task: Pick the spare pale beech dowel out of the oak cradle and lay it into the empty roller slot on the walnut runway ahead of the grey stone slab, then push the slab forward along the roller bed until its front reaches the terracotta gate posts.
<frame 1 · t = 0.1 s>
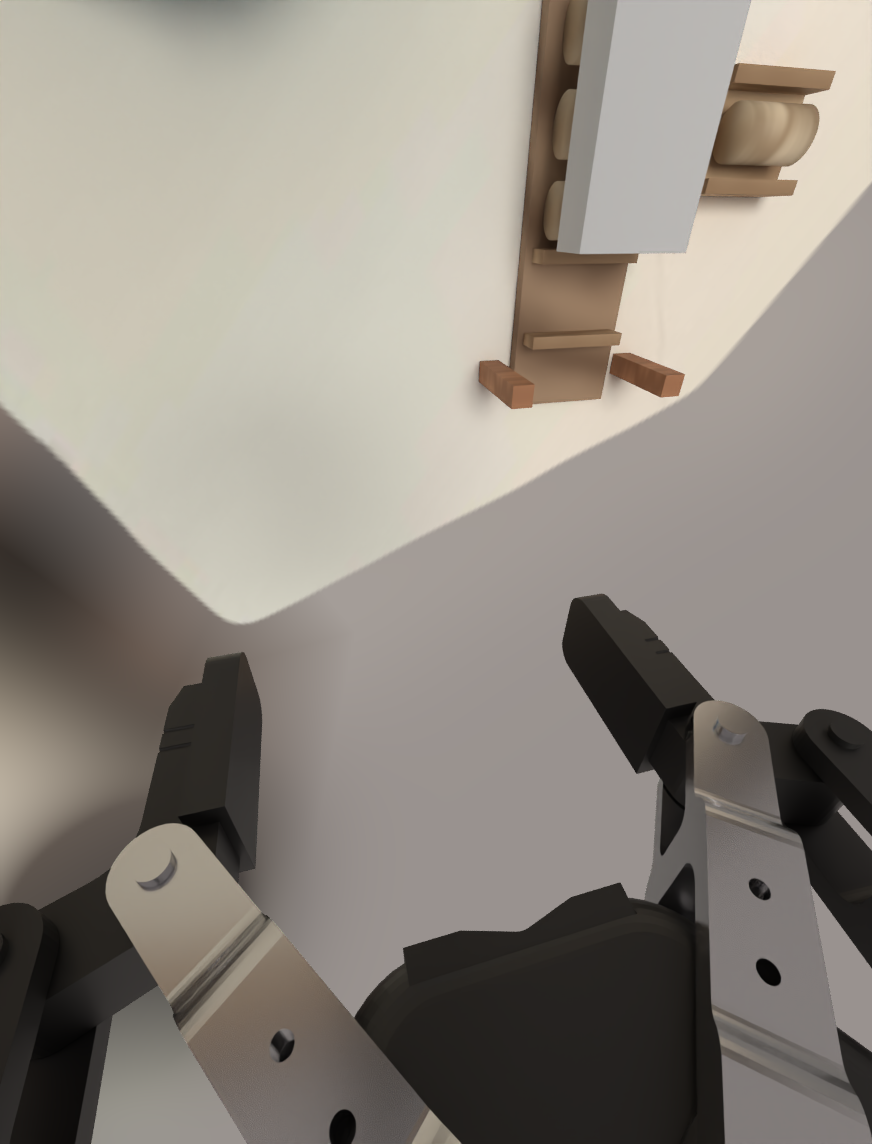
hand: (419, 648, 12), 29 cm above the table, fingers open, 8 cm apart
slab: (645, 117, 26), point 6 cm above the table, slide at 0.0 cm
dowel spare: (746, 138, 32), point 1 cm above the table, touching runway
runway: (575, 230, 34), on the table
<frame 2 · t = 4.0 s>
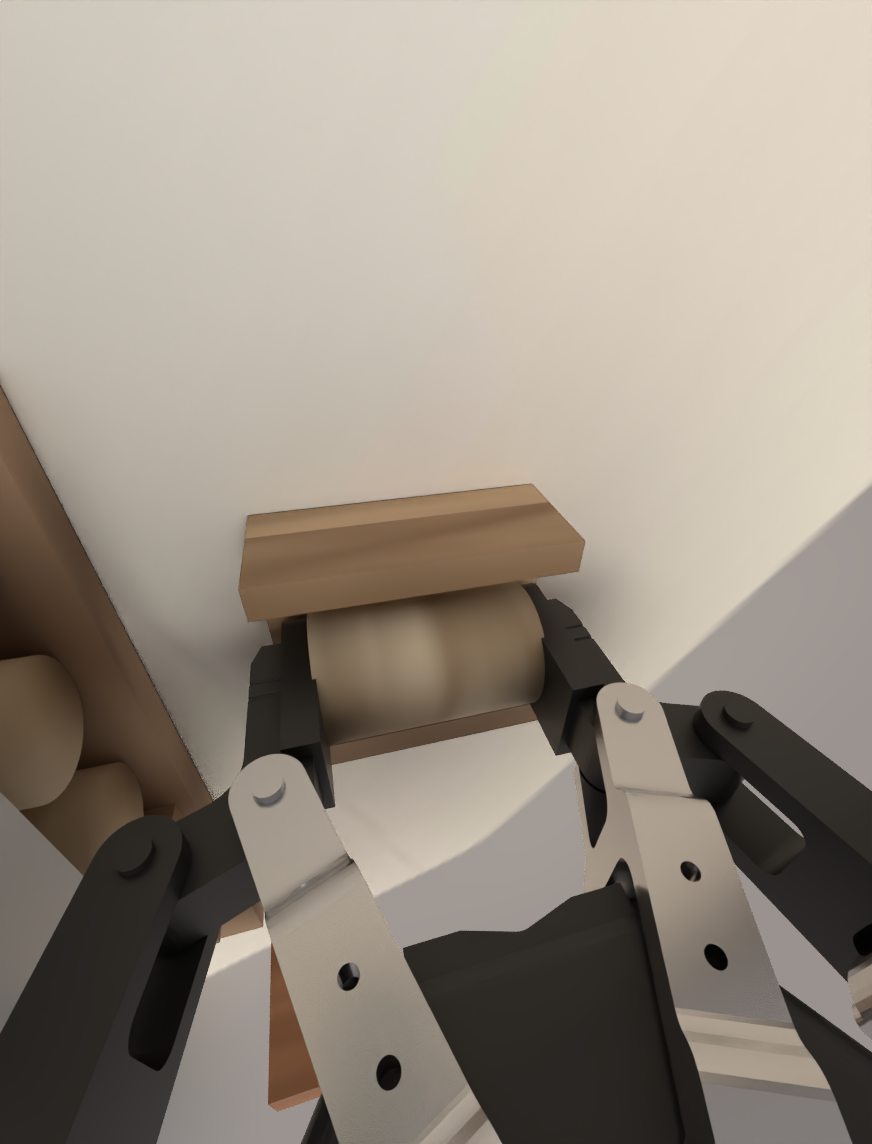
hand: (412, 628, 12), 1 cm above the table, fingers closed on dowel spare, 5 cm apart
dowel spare: (410, 618, 13), point 1 cm above the table, touching gripper, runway
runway: (42, 782, 14), on the table
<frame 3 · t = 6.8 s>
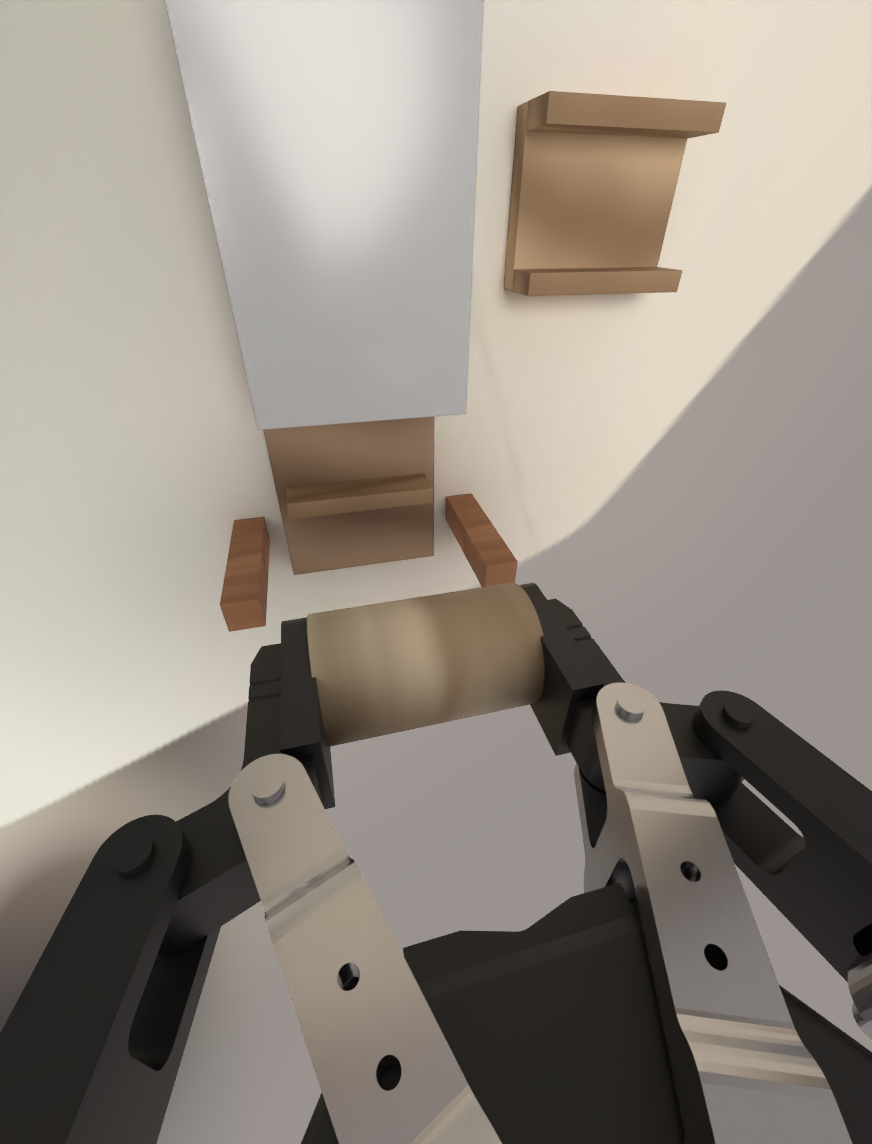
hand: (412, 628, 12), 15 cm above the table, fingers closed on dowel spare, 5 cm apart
slab: (343, 197, 14), point 6 cm above the table, slide at 0.0 cm
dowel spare: (410, 619, 13), point 14 cm above the table, touching gripper
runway: (342, 343, 22), on the table
when the fingers open (2 cm above the table, at t = 9.4 s): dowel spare stays where it is, resting on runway.
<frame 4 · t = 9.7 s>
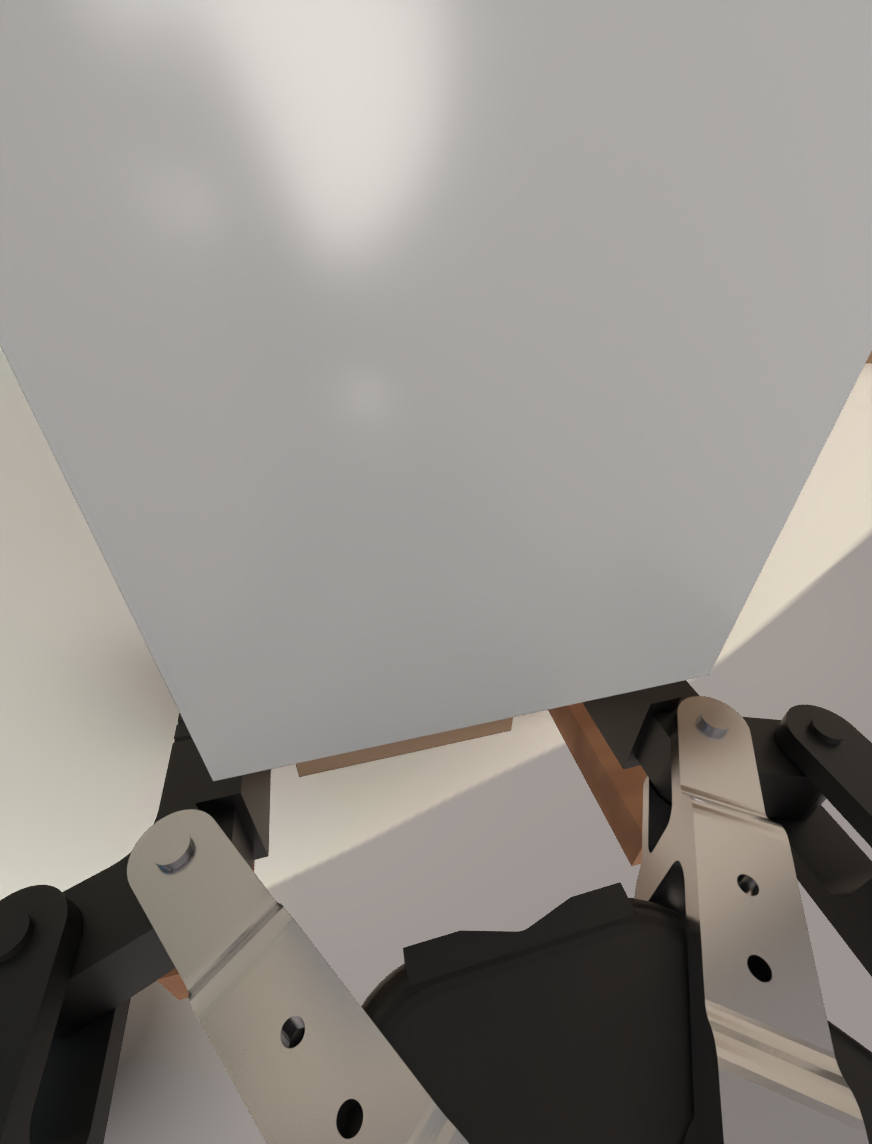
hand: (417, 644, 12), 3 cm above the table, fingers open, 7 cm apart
slab: (478, 146, 4), point 6 cm above the table, slide at 0.0 cm
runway: (389, 444, 12), on the table
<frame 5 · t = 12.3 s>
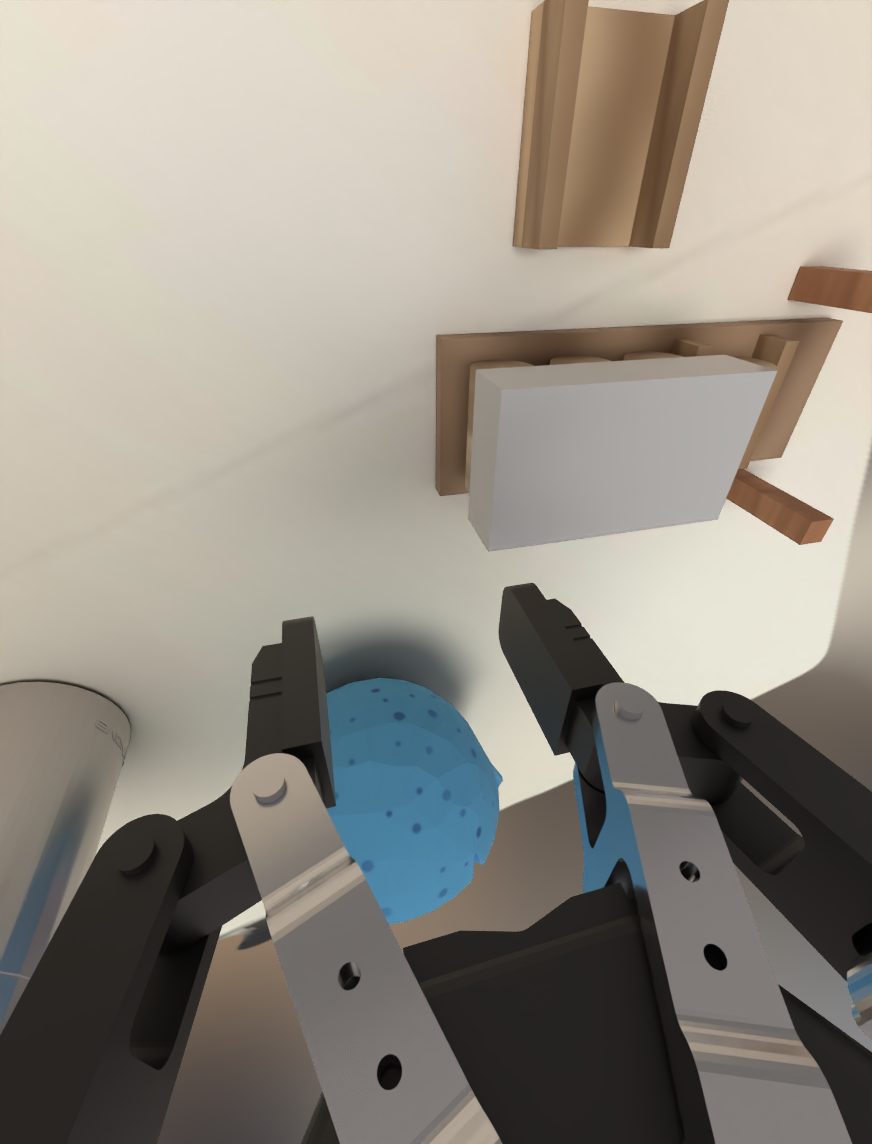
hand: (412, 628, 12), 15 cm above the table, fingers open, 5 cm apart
slab: (608, 451, 22), point 6 cm above the table, slide at 0.0 cm
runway: (630, 403, 28), on the table
educational model: (366, 713, 38), on the table
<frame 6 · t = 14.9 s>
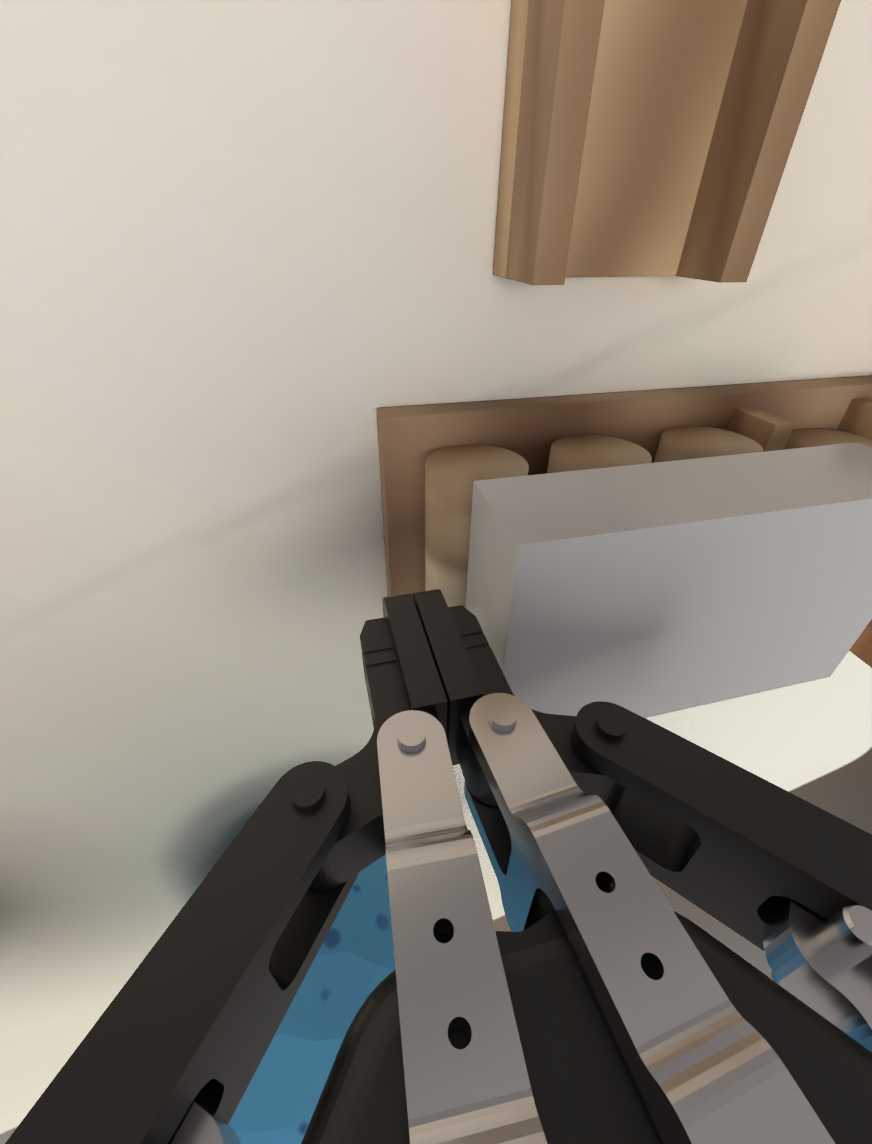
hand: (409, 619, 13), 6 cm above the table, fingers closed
slab: (678, 593, 14), point 6 cm above the table, slide at 1.2 cm, touching gripper
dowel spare: (766, 490, 20), point 1 cm above the table, tilted 19°, touching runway
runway: (663, 488, 20), on the table
educational model: (314, 852, 30), on the table
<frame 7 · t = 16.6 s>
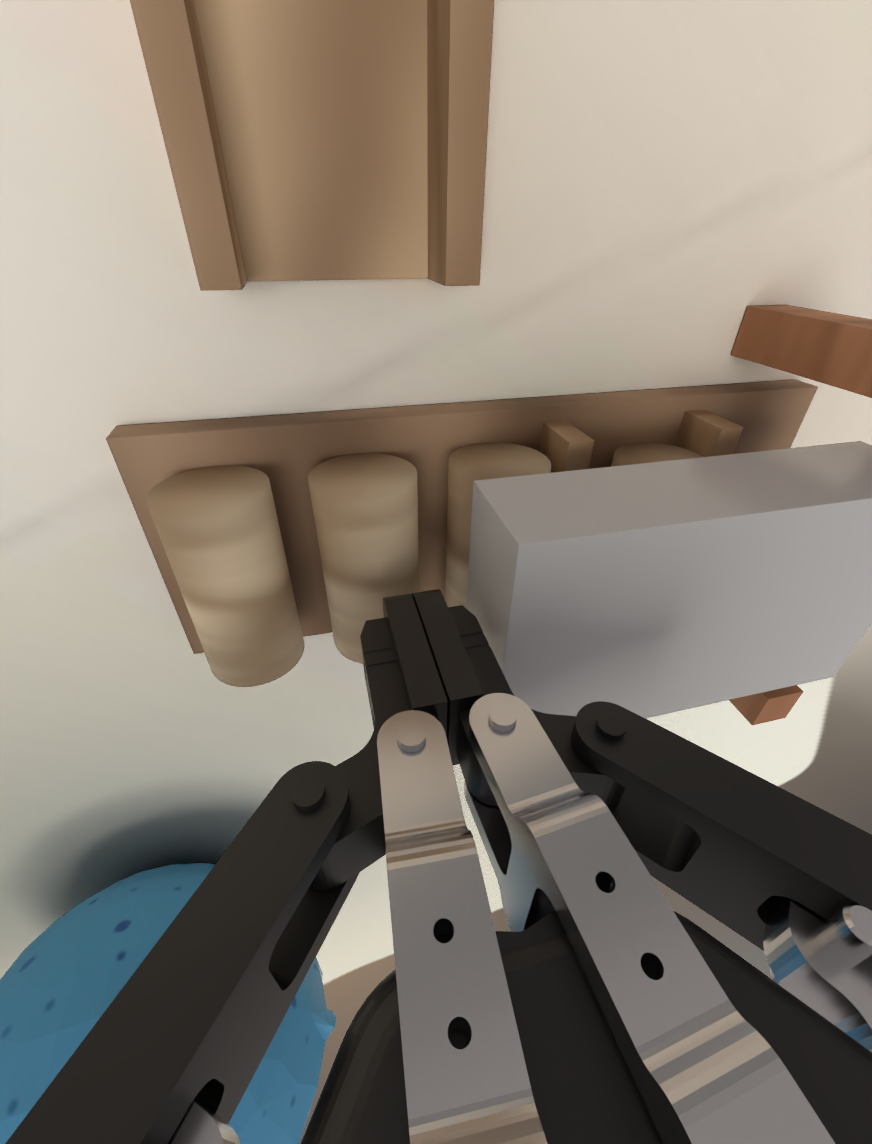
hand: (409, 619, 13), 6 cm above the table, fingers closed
slab: (680, 593, 14), point 6 cm above the table, slide at 8.5 cm, touching gripper
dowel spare: (607, 510, 18), point 1 cm above the table, tilted 23°, touching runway
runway: (495, 507, 18), on the table
educational model: (190, 882, 28), on the table
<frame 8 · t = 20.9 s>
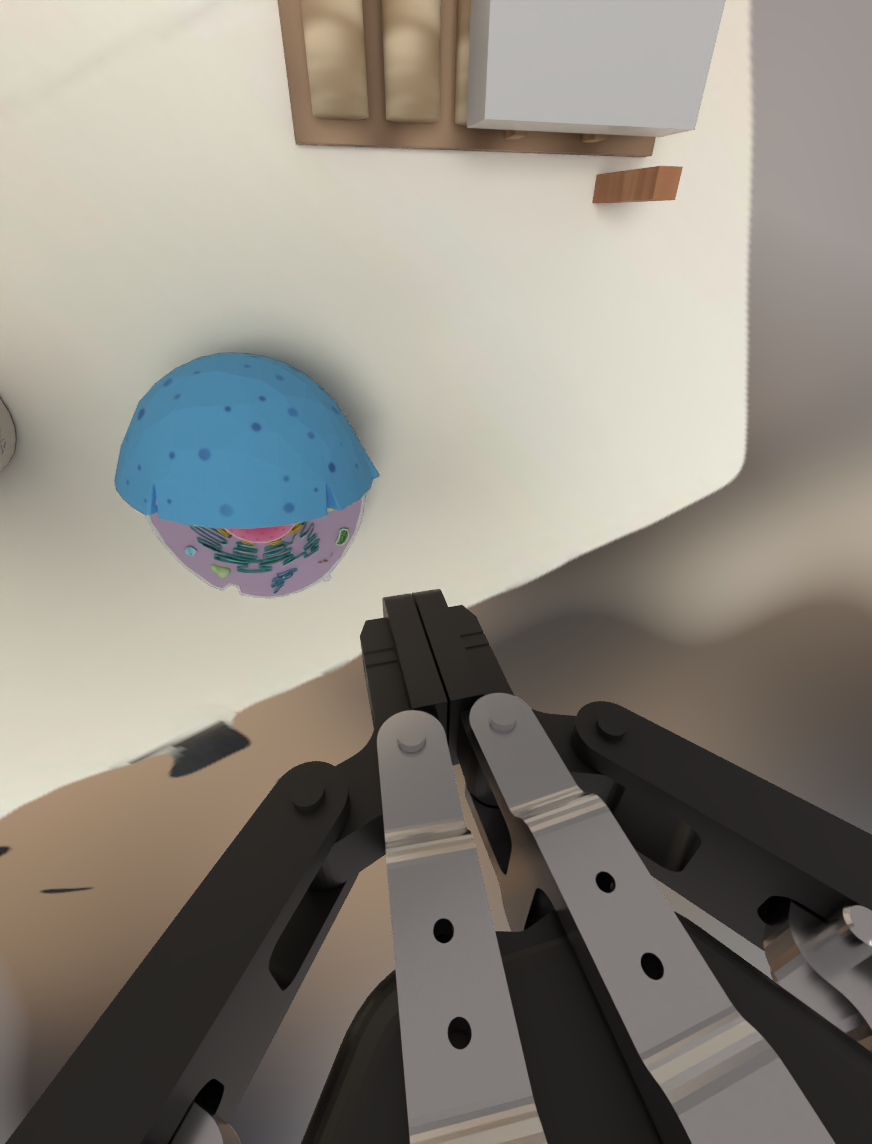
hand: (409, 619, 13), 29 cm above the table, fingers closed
slab: (593, 34, 24), point 6 cm above the table, slide at 8.5 cm
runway: (486, 60, 28), on the table
educational model: (264, 458, 38), on the table
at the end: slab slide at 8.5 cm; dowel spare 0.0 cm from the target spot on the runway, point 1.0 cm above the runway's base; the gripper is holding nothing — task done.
